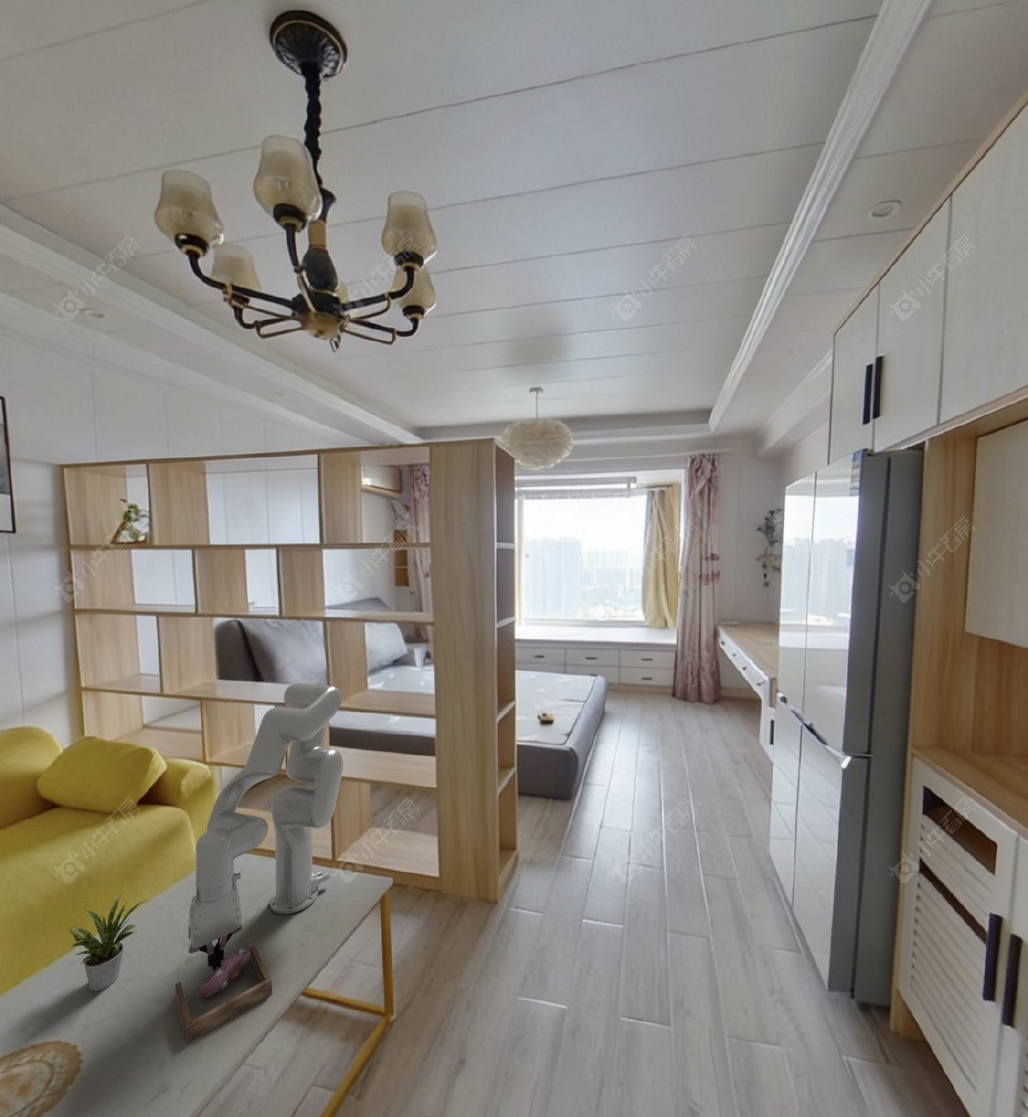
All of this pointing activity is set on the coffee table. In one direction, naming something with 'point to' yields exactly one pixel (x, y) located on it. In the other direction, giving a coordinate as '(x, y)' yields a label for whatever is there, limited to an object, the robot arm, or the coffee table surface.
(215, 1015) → the dock bay
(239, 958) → the video game controller
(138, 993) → the coffee table surface
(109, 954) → the house plant
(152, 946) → the coffee table surface
